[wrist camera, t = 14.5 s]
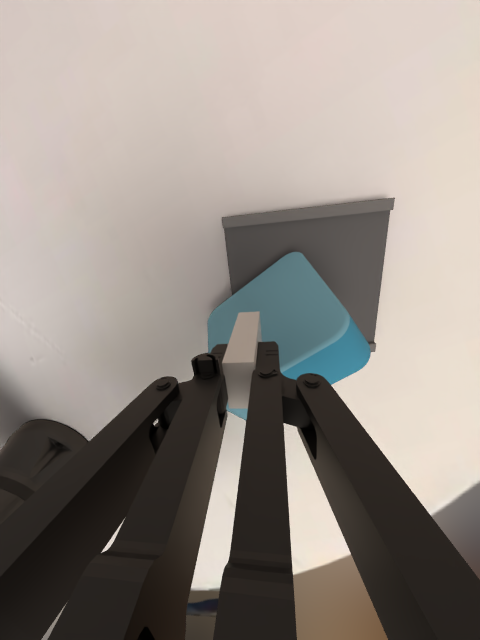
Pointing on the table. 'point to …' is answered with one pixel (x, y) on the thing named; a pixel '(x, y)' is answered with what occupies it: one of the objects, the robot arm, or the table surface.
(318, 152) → the table surface
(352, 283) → the dark gray square slab
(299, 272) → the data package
